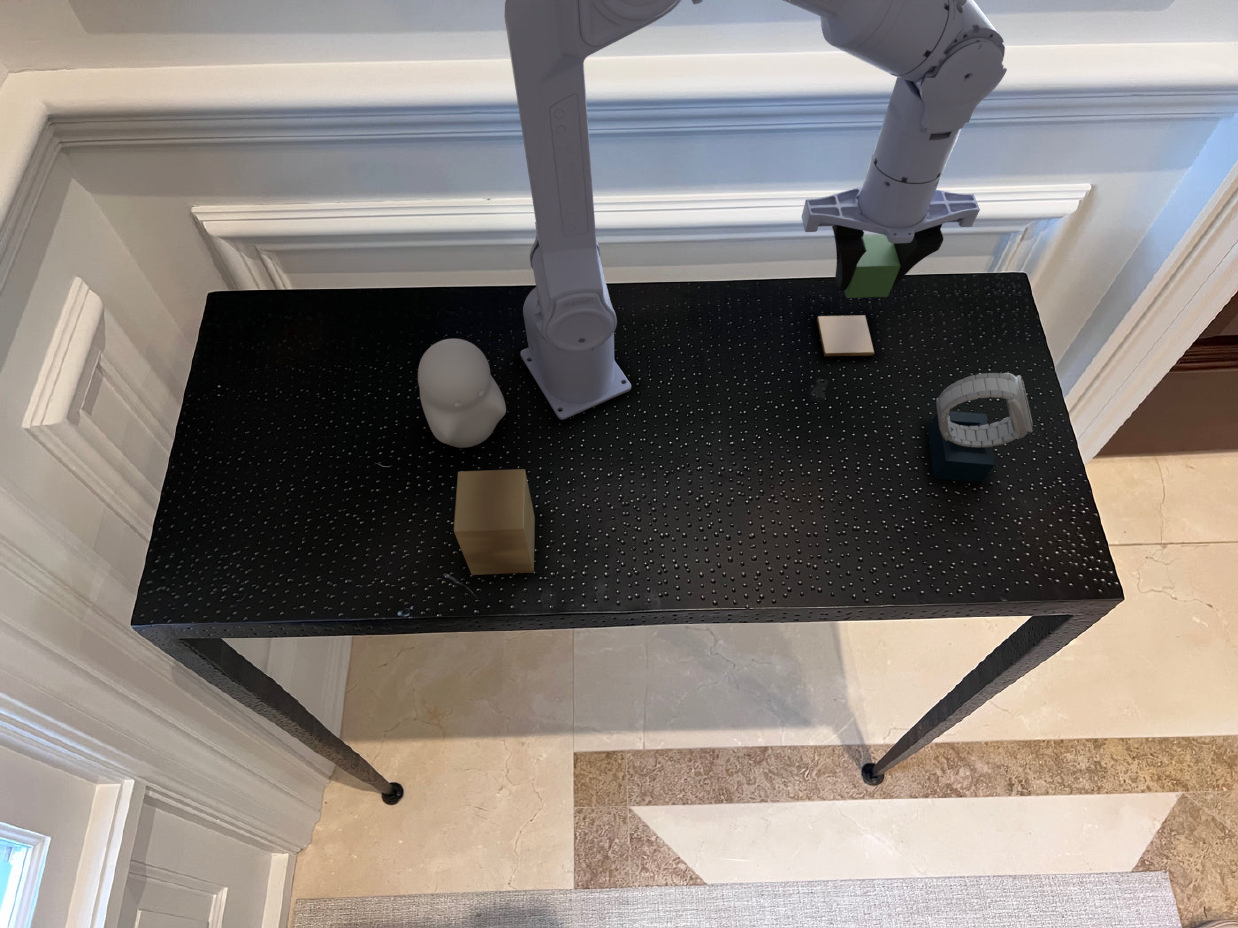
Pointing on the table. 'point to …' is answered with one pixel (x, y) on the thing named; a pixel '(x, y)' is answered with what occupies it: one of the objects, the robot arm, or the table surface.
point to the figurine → (459, 393)
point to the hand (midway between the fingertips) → (864, 282)
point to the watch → (975, 426)
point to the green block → (874, 269)
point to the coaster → (845, 335)
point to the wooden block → (495, 521)
